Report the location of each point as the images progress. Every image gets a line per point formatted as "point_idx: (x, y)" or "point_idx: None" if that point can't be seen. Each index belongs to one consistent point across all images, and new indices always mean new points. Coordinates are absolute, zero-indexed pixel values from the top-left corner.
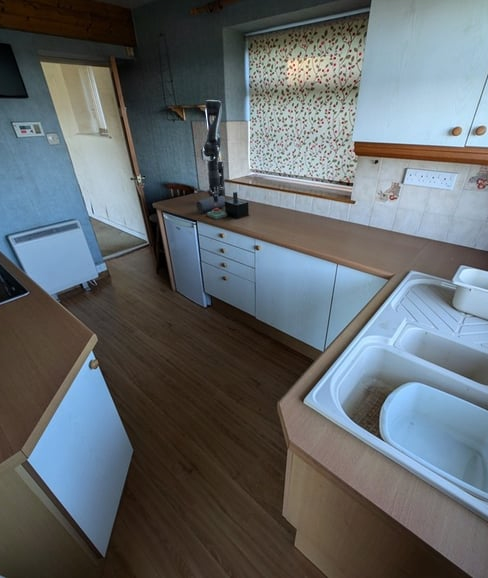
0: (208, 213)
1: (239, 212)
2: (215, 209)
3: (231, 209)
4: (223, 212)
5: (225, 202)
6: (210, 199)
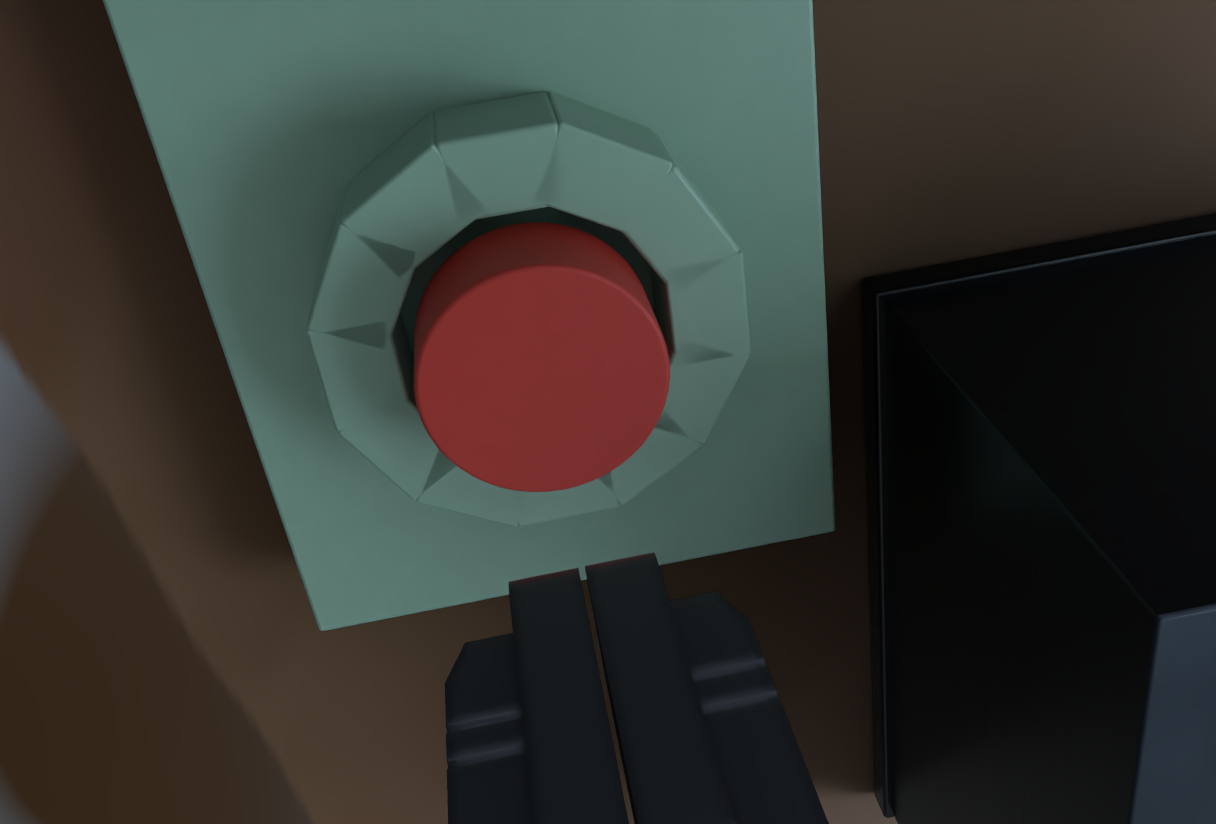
0: (153, 143)
1: None
2: (457, 461)
3: (979, 792)
4: (797, 381)
5: (1119, 641)
6: None
